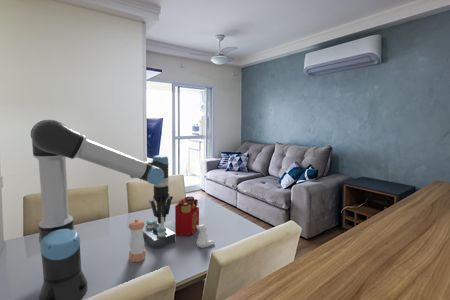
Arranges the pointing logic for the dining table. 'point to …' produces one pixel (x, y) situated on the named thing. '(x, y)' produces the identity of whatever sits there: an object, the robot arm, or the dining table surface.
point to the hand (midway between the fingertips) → (161, 228)
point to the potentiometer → (155, 226)
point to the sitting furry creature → (203, 237)
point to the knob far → (150, 224)
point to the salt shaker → (136, 241)
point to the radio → (186, 216)
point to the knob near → (161, 232)
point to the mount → (157, 241)
